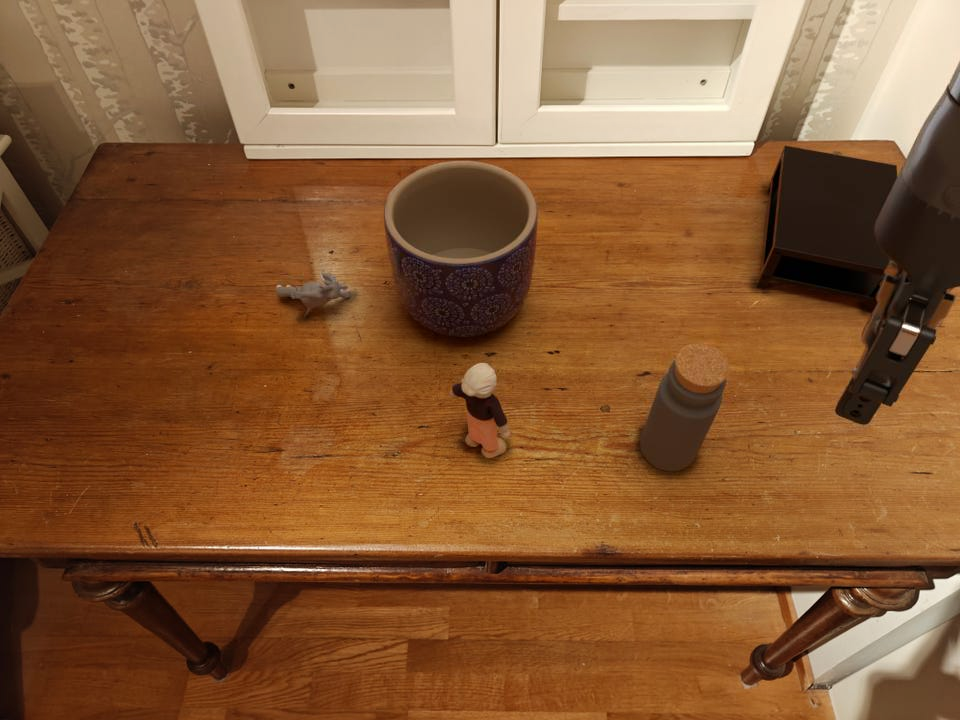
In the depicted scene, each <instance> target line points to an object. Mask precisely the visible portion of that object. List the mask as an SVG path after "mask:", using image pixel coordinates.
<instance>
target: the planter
mask: <svg viewBox="0 0 960 720" xmlns="http://www.w3.org/2000/svg"><path fill="white" fill-rule="evenodd" d="M538 215H539V213H538V204H537V200H536V197H535V196H534V194H533V192H532V191H531V189H530V188H529V186H528V185H527V184H526V183H525V182H524V181H523V180H522V179H521V178H519V177H518V176H517V175H515V174H514V173H512V172H510V171H508V170H506V169H504V168H502V167H500V166H498V165H497V166H496V165H493V164H490V163H485V162H480V161H473V160H453V161H452V160H451V161H444V162H440V163H435V164H431V165H427V166H424V167H422V168H420V169H418V170H416V171H414V172H412V173H410V174H409V175H407V176H406V177H404V178H403V179H402V180H401V181H400V182H399V183H398V184H397V185H396V186H394V188H393V189H392V190H391V191H390V193H389V194H388V196H387V199H386V201H385V205H384V207H383V225H384V232H385V241H386V247H387V253H388V259H389V263H390V264H389V265H390V269H391V273H392V274H391V275H392V278H393V282H394V285H395V288H396V291H397V295H398V297H399V300H400V301H401V303H402V305H403V306H404V308H405V310H406V311H407V313H408V314H409V315H410V316H411V317H412V318H413V319H414V320H415V321H416V322H418V323H419V324H420V325H422V326H423V327H425V328H427V329H429V330H431V331H432V332H435V333H438V334H440V335H444V336H447V337H453V338H469V337H470V338H471V337H478V336H482V335H485V334H488V333H491V332H494V331H495V330H497V329H500V327H503V326H504V325H505V324H507V323H508V322H509V321H511V319H512V318H514V317H515V316H516V315H517V313H518V312H519V311H520V310H521V308H522V307H523V305H524V303H525V301H526V298H527V297H528V295H529V291H530V288H531V283H532V279H533V273H534V268H535V267H534V266H535V259H536V250H537V239H538V238H537V237H538V222H539V221H538V220H539V219H538V218H539V217H538Z"/></svg>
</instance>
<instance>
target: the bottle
mask: <svg viewBox="0 0 960 720" xmlns="http://www.w3.org/2000/svg"><path fill="white" fill-rule="evenodd" d="M729 375H730V363H729V360H728V358H727V357H726V355H725V354H724V353H723V352H722V351H720V349H718V348H716V347H714V346H713V345H710V344H706V343H702V342H701V343H699V342H696V343H690V344H689V343H688V344H686V345H685V346H683V347H682V348H680V349H679V351H678V352H677V353H676V355H675V359H674V360H673V361H672V362H671V364H670V365H669V368H668V371H667V373H665V375H664V376H663V377H662V379H661V380H660V383H659V385H658V388H657V390H656V393H655V396H654V398H653V401H652V404H651V407H650V410H649V413H648V416H647V417H646V421H645V424H644V427H643V430H642V433H641V436H640V441H639V446H640V451H641V453H642V455H643V457H644V459H645V460H646V461H647V462H648V463H649V464H650V465H652V466H653V467H654V468H656V469H659V470H660V471H664V472H679V471H682V470H684V469H687V468H688V467H689V466H690V465H692V463H693V461H694V460H695V458H696V457H697V455H698V453H699V450H700V449H701V447H702V445H703V443H704V441H705V440H706V439H705V438H706V437H707V435H708V433H709V430H710V429H711V427H712V425H713V423H714V420H715V418H716V417H717V414H718V413H719V411H720V408H721V406H722V403H723V392H724V390H725V388H726V386H727V379H728V376H729Z"/></svg>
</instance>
